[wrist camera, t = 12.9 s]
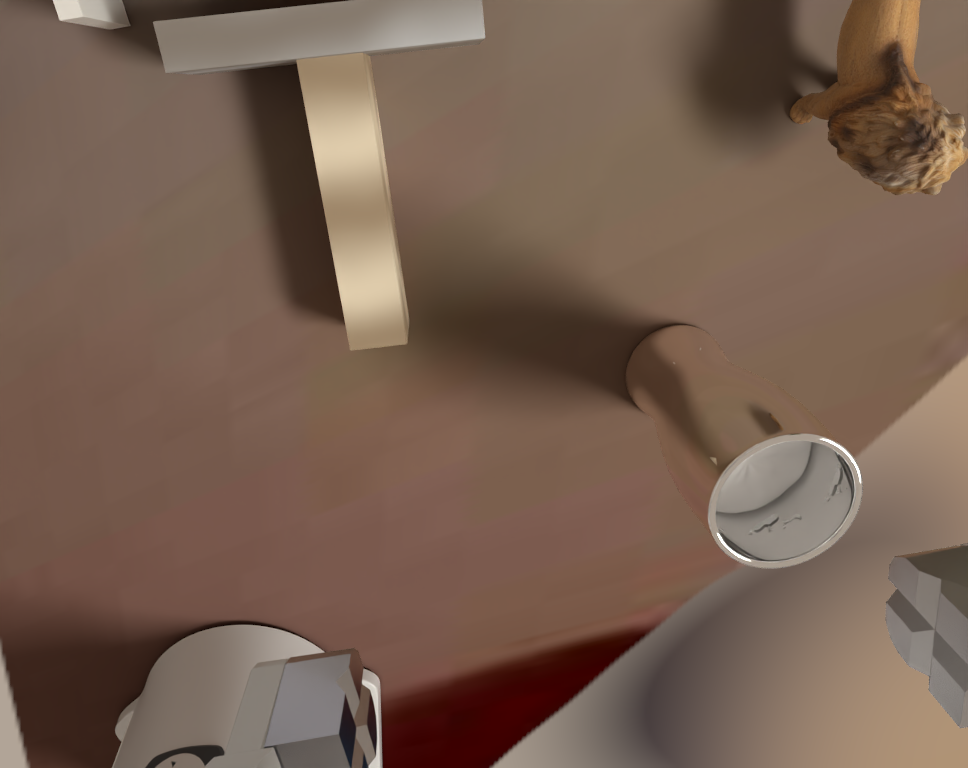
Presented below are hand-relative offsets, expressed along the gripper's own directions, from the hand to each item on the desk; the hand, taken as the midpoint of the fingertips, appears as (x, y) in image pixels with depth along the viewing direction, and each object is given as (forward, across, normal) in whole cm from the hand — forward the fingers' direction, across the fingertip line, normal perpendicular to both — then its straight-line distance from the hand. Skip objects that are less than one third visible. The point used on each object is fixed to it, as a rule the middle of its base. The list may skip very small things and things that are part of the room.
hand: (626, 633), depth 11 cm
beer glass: (+31, +10, -10) cm, 34 cm away
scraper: (+31, -6, +4) cm, 32 cm away
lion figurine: (+31, +20, +7) cm, 38 cm away
